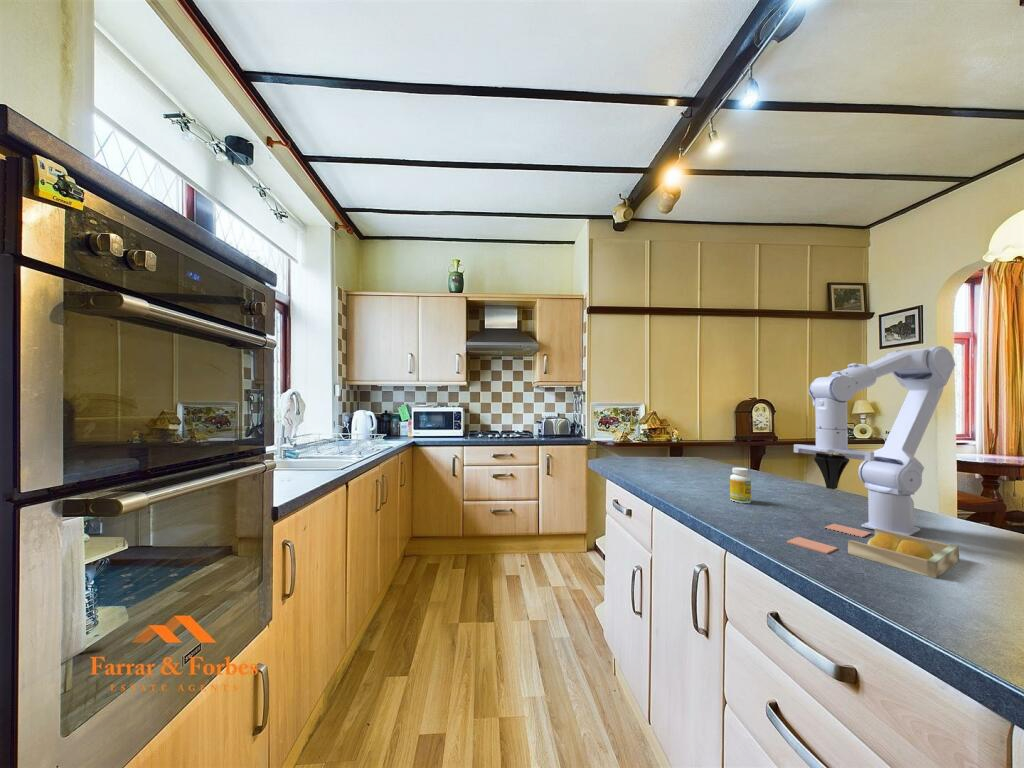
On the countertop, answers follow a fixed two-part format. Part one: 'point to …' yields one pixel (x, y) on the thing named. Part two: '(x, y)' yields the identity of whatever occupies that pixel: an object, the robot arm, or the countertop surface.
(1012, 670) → the countertop surface
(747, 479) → the supplement bottle
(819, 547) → the mats
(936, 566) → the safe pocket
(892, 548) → the bread roll
